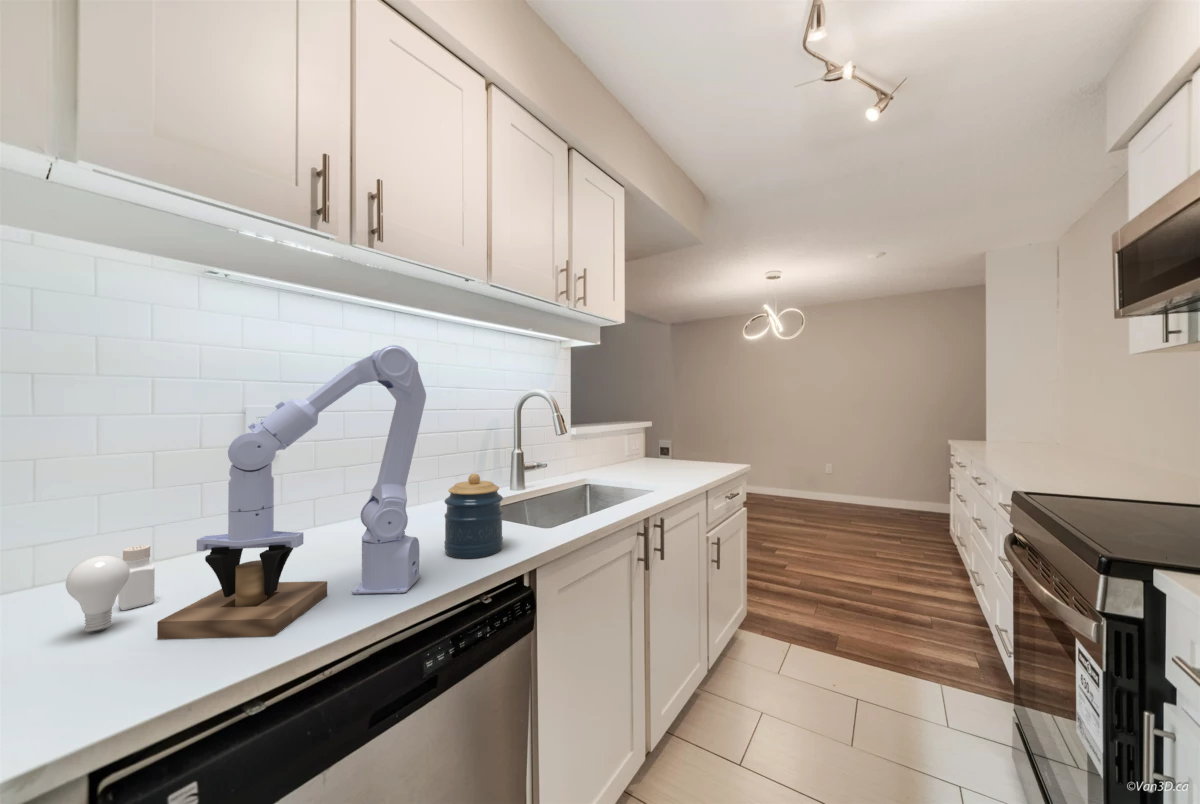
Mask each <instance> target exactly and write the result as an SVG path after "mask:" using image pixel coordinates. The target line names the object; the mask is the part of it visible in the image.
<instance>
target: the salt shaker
mask: <svg viewBox="0 0 1200 804" xmlns="http://www.w3.org/2000/svg"><path fill="white" fill-rule="evenodd" d="M150 558H151V545H148V544H143V545H142V544H141V545H134V546H129V547H126V548H124V549H123V550H122V559H123V560H124V561H125V562H126V563H127V564H128V566H129V569H130V575H129V578H128V581H127V582H126V584H125V585H124V587H123V588H122V589H121V591H120V592H119V593H118V595H117V598H118V599H117V600H118V601H117V602H118V606H119V609H120V610H121V611H127V610H131V609H135V608H139V607H144V606H147V605H151V604H153V603H154V602H155V579H156V578H155V574H156V573H155V571H156V570H155V565H154V563H151V562H150Z"/></svg>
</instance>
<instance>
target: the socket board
mask: <svg viewBox="0 0 1200 804" xmlns="http://www.w3.org/2000/svg"><path fill="white" fill-rule="evenodd" d="M327 596H328V581H327V580H325V581H324V580H323V581H279V583H278V587H277V590H276V591H275V592H273V593H272V594H271V595H267V601H265V602H263V603H262V604H260V605H259V606H257V607H235V594H233V595H231V596H230V597H224V594H223V590H222V588H221V589H218V590H216V591H215V592H212V593H211V594H208V595H206V596H204V597H203V598H201V599H199V600H196V601H194V602H193V603H190V604H189V605H187V606H185V607H183V608H181V609H179V610H177V611H174V613H171V614H170V615H168V616H166V617H164V618H162V619H160V620H158V621H157V624H156V625H157V626H156V627H157V629H156V630H157V637H156V638H157V640H176V639H177V640H179V639H182V640H183V639H214V638H215V639H217V638H218V639H220V638H251V637H252V638H256V637H258V638H260V637H274V636H276V635H277V634H278V633H280V632H281V631H283V630H284V629H285V628H287V627H288V626H289V625H290V624H292V623H293V622H295V621H296V620H297V619H298V618H300V617H301V616H302V615H303V614H305V613H306V612H308V611H309V610H310V609H312V607H314V606H316V605H317V604H318V603H319V602H321V601H322V600H324V599H325V598H326V597H327Z"/></svg>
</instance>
